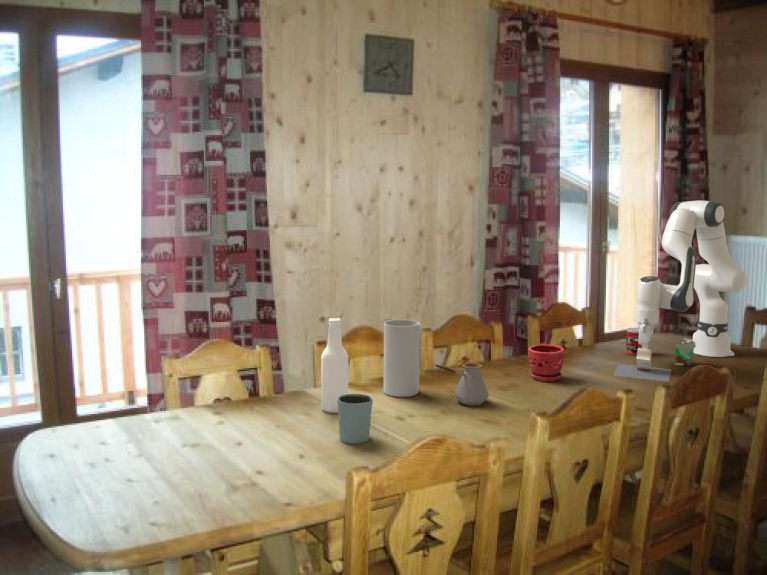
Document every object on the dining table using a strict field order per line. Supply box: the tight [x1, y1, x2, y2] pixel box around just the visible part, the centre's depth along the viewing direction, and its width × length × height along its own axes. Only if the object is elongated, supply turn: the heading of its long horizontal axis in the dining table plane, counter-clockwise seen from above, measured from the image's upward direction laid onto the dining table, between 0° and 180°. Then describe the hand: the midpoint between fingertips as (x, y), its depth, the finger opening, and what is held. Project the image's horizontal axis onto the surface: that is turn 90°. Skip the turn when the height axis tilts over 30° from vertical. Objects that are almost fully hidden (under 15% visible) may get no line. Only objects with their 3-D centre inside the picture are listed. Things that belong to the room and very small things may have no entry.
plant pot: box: [528, 344, 565, 383], centre depth 274 cm, size 13×13×12 cm
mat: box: [612, 363, 673, 383], centre depth 284 cm, size 20×20×1 cm
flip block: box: [636, 348, 653, 371], centre depth 285 cm, size 5×5×8 cm
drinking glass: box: [337, 393, 374, 445], centre depth 208 cm, size 10×10×12 cm
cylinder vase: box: [383, 319, 421, 398], centre depth 253 cm, size 12×12×25 cm
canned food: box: [625, 327, 642, 357], centre depth 314 cm, size 8×8×11 cm
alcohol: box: [320, 317, 349, 414], centre depth 233 cm, size 9×9×30 cm
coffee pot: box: [432, 362, 490, 407], centre depth 241 cm, size 21×12×15 cm, turn 120°
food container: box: [674, 337, 696, 367], centre depth 296 cm, size 12×6×10 cm, turn 143°
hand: (644, 351), depth 288 cm, fingers closed
